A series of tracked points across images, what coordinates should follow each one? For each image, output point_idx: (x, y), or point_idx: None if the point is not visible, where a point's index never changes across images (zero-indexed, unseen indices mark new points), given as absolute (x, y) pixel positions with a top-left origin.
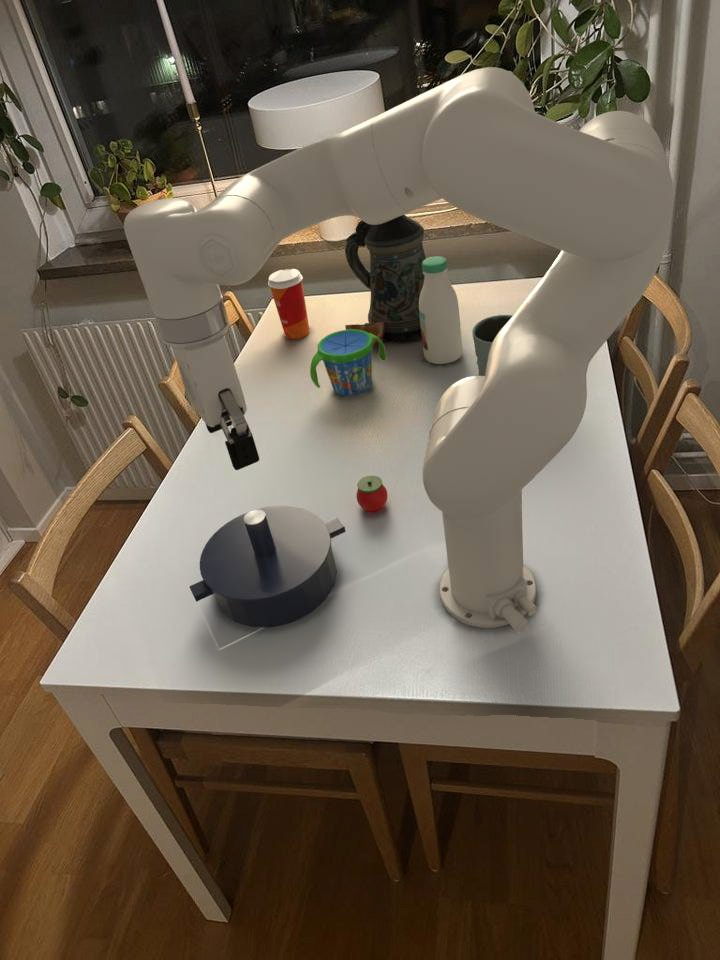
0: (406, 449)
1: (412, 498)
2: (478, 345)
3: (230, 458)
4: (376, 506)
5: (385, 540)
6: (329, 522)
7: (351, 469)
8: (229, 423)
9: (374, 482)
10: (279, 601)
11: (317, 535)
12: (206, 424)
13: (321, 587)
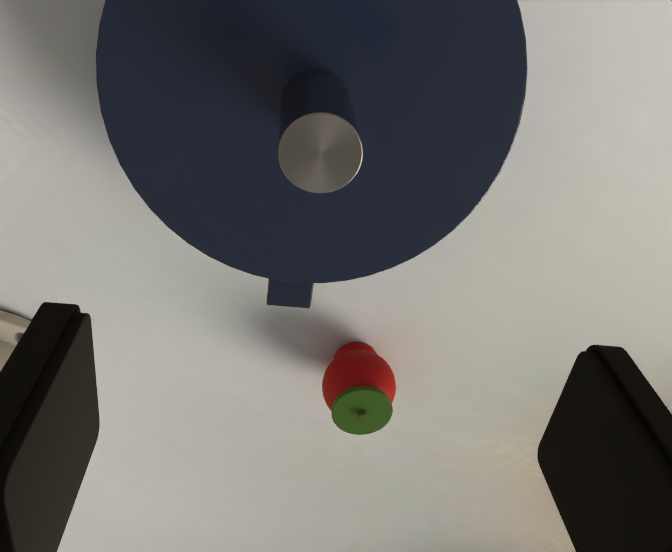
0: (459, 481)
1: (324, 420)
2: None
3: (37, 356)
4: (324, 374)
5: (253, 326)
6: (309, 287)
7: (507, 388)
8: (543, 458)
9: (355, 420)
10: None
11: (259, 245)
12: (627, 389)
13: None
